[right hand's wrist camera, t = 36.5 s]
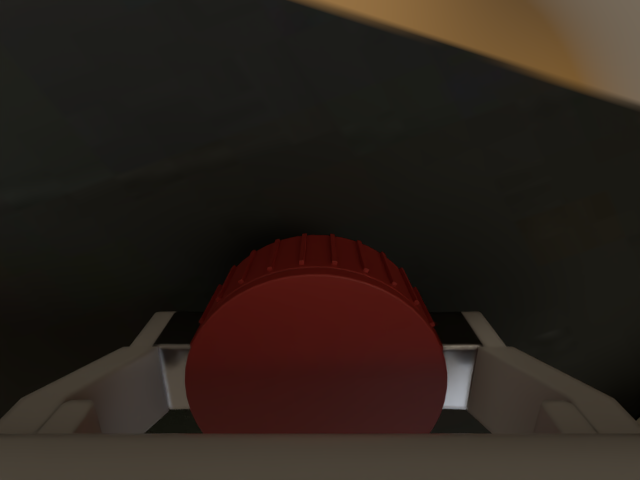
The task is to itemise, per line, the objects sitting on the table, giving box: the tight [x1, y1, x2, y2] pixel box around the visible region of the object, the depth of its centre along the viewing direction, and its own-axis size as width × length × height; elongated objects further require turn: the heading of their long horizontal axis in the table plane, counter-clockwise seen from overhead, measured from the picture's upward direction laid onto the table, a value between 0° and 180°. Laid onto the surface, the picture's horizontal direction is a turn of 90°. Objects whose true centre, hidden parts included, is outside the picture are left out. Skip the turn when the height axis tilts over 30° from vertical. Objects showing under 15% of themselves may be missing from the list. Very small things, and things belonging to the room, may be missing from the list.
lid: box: [185, 234, 447, 434], centre depth 9 cm, size 6×6×2 cm
